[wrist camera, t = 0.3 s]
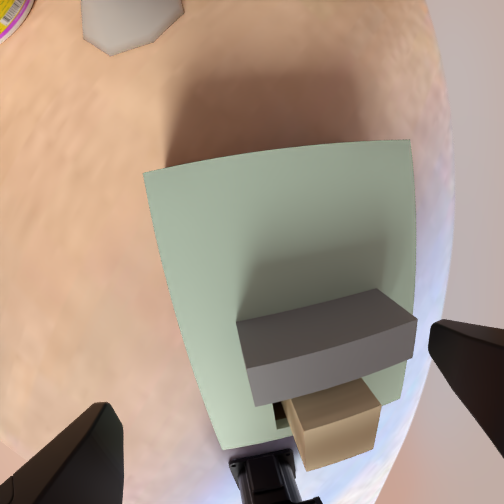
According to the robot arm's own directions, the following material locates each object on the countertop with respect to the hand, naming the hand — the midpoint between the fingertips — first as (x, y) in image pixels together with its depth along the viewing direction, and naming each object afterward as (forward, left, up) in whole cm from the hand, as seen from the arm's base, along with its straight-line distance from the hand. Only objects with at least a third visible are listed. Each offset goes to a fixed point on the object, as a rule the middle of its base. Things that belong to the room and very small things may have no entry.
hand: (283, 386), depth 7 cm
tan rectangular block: (-7, -3, -9) cm, 12 cm away
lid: (-2, -3, -7) cm, 8 cm away
